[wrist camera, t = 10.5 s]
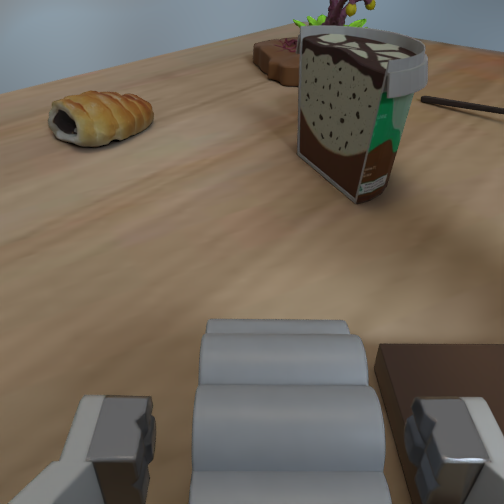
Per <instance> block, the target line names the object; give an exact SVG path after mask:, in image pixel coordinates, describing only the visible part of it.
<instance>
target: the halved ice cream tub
mask: <svg viewBox="0 0 504 504" xmlns="http://www.w3.org/2000/svg"><path fill="white" fill-rule="evenodd" d="M296 54H299V90H298V133H297V155H298V156H299V157H301V158H302V159H303V160H304V161H305V162H307V163H308V164H309V165H310V166H311V167H313V168H314V169H315V170H316V171H317V172H318V173H320V174H321V175H322V176H323V177H324V178H326V179H327V180H328V181H329V182H330V183H332V184H333V185H334V186H335V187H336V188H337V189H339V190H340V191H341V192H342V193H343V194H345V195H346V196H347V197H348V198H349V199H351V200H352V201H353V202H354V203H355V204H358V203H362V202H366V201H369V200H371V199H373V198H375V197H377V196H378V195H380V194H381V193H382V192H383V191H384V189H385V188H386V186H387V183H388V180H389V177H390V173H391V170H392V166H393V163H394V160H395V156H396V153H397V149H398V146H399V142H400V139H401V136H402V132H403V129H404V125H405V122H406V118H407V115H408V112H409V108H410V105H411V101H412V98H413V95H414V92H417V91H419V90H421V89H422V88H424V87H425V86H426V84H427V79H428V57H427V56H426V54H425V45H424V44H423V43H422V42H420V41H419V40H417V39H414V38H412V37H409V36H406V35H402V34H398V33H394V32H389V31H383V30H377V29H370V28H361V27H349V26H326V25H319V26H301V27H300V35H298V40H297V47H296Z"/></svg>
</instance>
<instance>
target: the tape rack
mask: <svg viewBox="0 0 504 504" xmlns="http://www.w3.org/2000/svg"><path fill="white" fill-rule="evenodd" d="M374 368H375V372H376V375H377V379H378V382H379V386H380V389H381V393H382V396H383V400H384V404H385V407H386V411H387V414H388V418H389V421H390V425H391V428H392V432H393V435H394V439H395V442H396V446H397V449H398V453H399V457H400V460H401V464H402V467H403V471H404V474H405V478H406V481H407V485H408V488H409V492H410V495H411V499H412V502H413V504H422V503H421V499H420V496H419V493H418V490H417V486H416V483H415V480H414V477H415V475H416V472H417V468H416V467H415V466H414V465H413V464H412V463H411V462H410V461H409V460H408V456H407V453H406V449H405V443H404V426H405V423H406V419H407V418H409V417H410V416H411V415H413V413H412V410H411V404H412V401H413V399H414V398H416V397H446V396H457V397H482V398H483V399H484V400H485V401H486V402H487V404H488V406H489V408H490V410H491V412H492V414H493V416H494V418H495V420H496V422H497V424H498V426H499V428H500V430H501V432H502V434H503V436H504V344H379V348H378V352H377V356H376V360H375V365H374Z"/></svg>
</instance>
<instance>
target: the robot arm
mask: <svg viewBox="0 0 504 504" xmlns="http://www.w3.org/2000/svg"><path fill="white" fill-rule="evenodd" d="M152 409H153V402H152V397H151V396H122V395H84V396H83V397H82V399H81V400H80V402H79V405H78V408H77V411H76V414H75V416H74V419H73V422H72V425H71V428H70V431H69V434H68V437H67V440H66V442H65V445H64V448H63V451H62V454H61V457H60V460H59V461H52V462H51V463H50V464H49V465H48V466H47V467H46V468H45V469H44V470H43V471H42V472H40V473H39V474H38V475H37V476H36V477H35V478H34V479H33V480H32V481H31V482H30V483H29V484H28V485H27V486H26V487H25V488H24V489H22V490H21V491H20V492H19V493H18V494H17V495H16V496H15V497H14V498H13V499H12V500H11V501H10V502H9V503H8V504H146V498H147V492H148V487H149V481H150V475H149V469H148V464H149V463H150V462H151V461H152V460H153V458H154V452H155V444H156V421H155V417H153V416H152V415H151V414H152ZM411 410H412V413H413V415H411V416H410V417H409V418H407V419H406V423H405V426H404V443H405V449H406V453H407V456H408V460H409V461H410V462H411V463H412V464H413V465H414V466H415V467H416V468H417V472H416V475H415V477H414V480H415V483H416V486H417V490H418V493H419V496H420V499H421V503H422V504H504V436H503V434H502V432H501V430H500V428H499V426H498V424H497V422H496V420H495V418H494V416H493V414H492V412H491V410H490V408H489V406H488V404H487V402H486V401H485V400H484V399H483V398H482V397H457V396H446V397H416V398H414V399H413V401H412V404H411Z"/></svg>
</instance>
